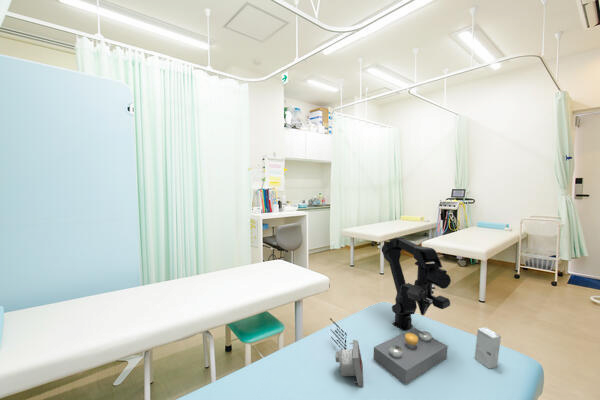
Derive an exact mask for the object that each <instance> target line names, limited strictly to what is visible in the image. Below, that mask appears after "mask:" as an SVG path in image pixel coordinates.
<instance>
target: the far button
mask: <svg viewBox="0 0 600 400" xmlns="http://www.w3.org/2000/svg"><path fill="white" fill-rule="evenodd" d="M431 337H432V334H431V333H430V332H429V331H426V330H420V332H419V339H420V340H421V341H424V342H431Z"/></svg>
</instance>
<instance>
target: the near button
mask: <svg viewBox="0 0 600 400" xmlns="http://www.w3.org/2000/svg"><path fill="white" fill-rule="evenodd" d="M389 354H390V356H391V357H393V358H396V359H400V358H402V349H401V348H400V347H399V346H396V345H392V346H390V347H389Z"/></svg>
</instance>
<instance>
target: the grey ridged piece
mask: <svg viewBox="0 0 600 400" xmlns="http://www.w3.org/2000/svg"><path fill="white" fill-rule="evenodd" d="M329 320H330V321H332V323H333V324H334V325H335V326H336V329H335V330H334V331H333V330H332V329H330V331H331V332H332V333H333V335H335V337H336V338H337V339H336V340H335V339H334V337H332V336H330V338H331V339H332V340H333V341H334V343H335V344H336V345H337V346H338V347H339V348H340V349H339V351H337V352H335V363H339V369H340V373H341V376H342V377H353V376H355V377H356V381H353V384H357V387H362V386H364V365H363V361H362V355H361V349H360V345H359V340H357V339H352V342H349V345H352V348H350V349H347V335H348V333H347V332H345V331H344V330H343V329H342V328H341V327H340V326H339V324H337V323H336V322H335V321H333V319H332V318H331V317H329Z"/></svg>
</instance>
